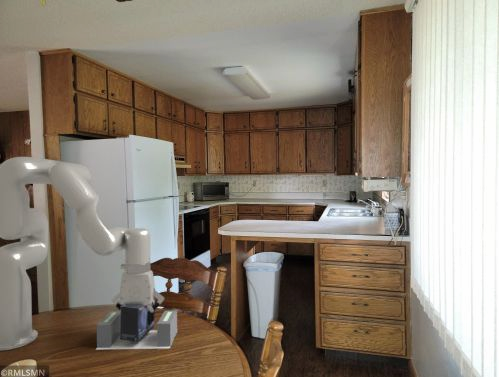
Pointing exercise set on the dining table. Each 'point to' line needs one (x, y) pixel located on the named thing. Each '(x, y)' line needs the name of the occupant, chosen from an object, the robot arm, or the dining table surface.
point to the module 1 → (108, 329)
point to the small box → (134, 322)
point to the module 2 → (166, 328)
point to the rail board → (137, 342)
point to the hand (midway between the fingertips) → (138, 323)
